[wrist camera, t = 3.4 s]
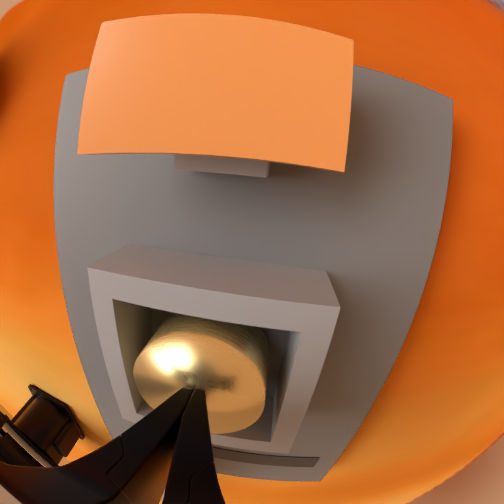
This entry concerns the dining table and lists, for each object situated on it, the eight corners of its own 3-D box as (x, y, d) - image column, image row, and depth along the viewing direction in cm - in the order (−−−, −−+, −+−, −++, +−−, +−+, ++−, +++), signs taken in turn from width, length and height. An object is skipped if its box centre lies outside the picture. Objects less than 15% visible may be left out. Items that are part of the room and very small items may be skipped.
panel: (122, 427, 19) (101, 465, 14) (88, 81, 11) (25, 64, 6) (319, 463, 18) (321, 509, 13) (431, 106, 10) (494, 87, 5)
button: (164, 375, 13) (143, 416, 10) (158, 290, 11) (124, 327, 8) (261, 393, 12) (256, 441, 9) (277, 309, 11) (274, 357, 8)
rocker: (98, 154, 7) (77, 154, 6) (117, 39, 6) (102, 22, 4) (325, 169, 8) (344, 172, 7) (334, 55, 7) (353, 40, 5)
